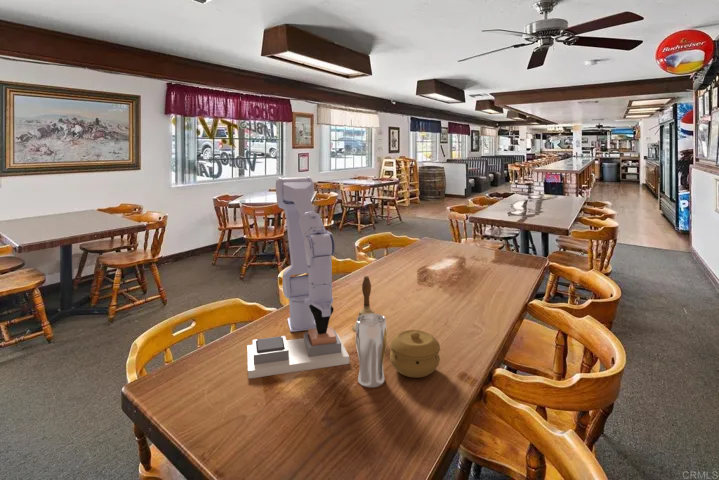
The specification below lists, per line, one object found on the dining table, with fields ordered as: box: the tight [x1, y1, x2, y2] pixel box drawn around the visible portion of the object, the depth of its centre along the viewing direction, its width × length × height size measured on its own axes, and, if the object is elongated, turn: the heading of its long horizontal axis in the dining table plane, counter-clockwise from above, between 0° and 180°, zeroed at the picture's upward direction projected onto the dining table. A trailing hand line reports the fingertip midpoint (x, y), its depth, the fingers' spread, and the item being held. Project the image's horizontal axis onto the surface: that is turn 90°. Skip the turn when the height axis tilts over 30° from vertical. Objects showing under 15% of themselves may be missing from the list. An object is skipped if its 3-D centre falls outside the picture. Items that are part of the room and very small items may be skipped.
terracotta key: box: [307, 326, 336, 346], centre depth 104 cm, size 6×6×3 cm
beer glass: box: [355, 312, 388, 389], centre depth 91 cm, size 7×7×15 cm
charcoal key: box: [256, 335, 284, 353], centre depth 101 cm, size 6×6×3 cm
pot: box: [389, 329, 441, 379], centre depth 96 cm, size 12×12×10 cm
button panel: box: [246, 329, 350, 380], centre depth 103 cm, size 13×24×4 cm, turn 106°
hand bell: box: [352, 275, 375, 333], centre depth 118 cm, size 8×8×16 cm
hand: (321, 332), depth 103 cm, fingers closed
